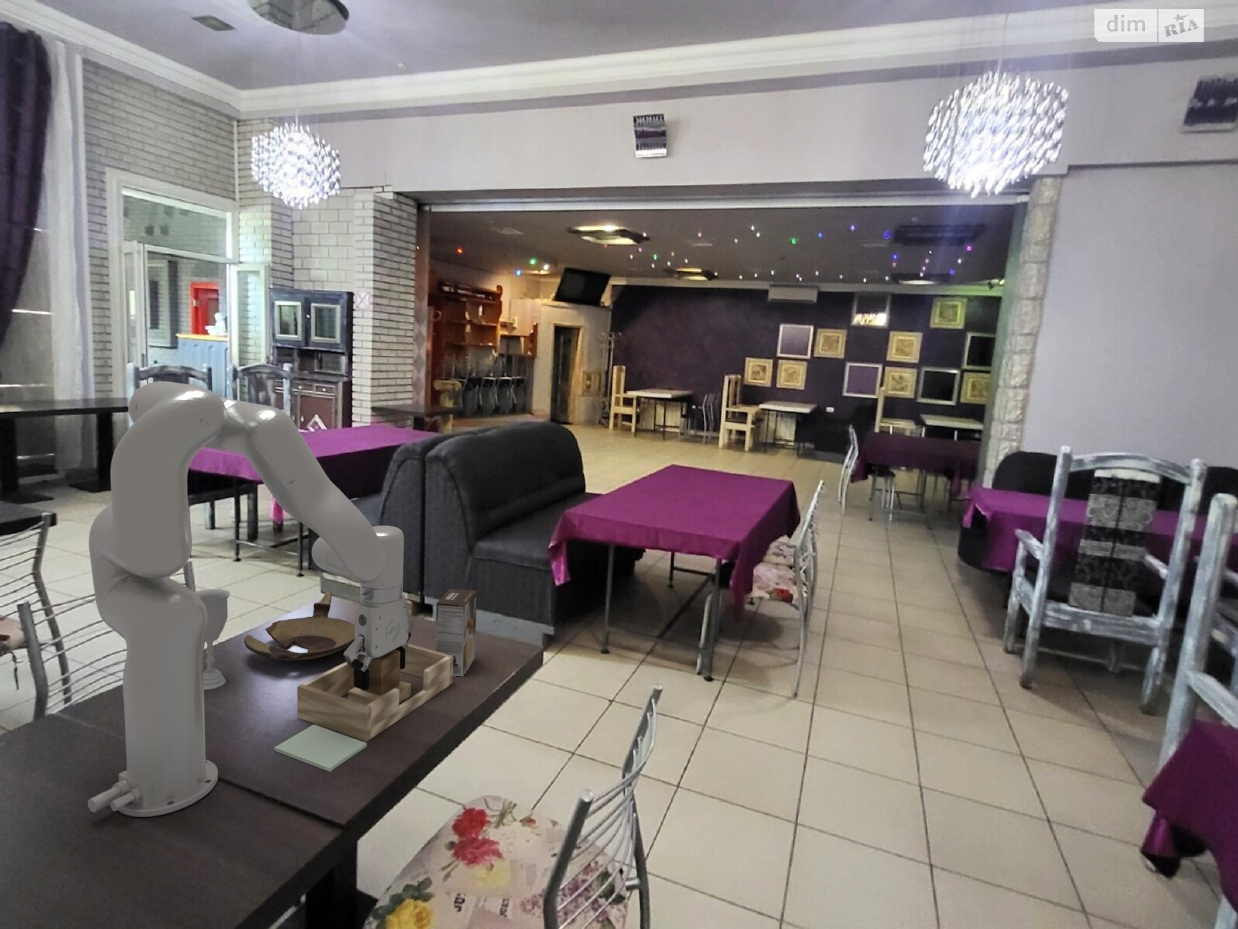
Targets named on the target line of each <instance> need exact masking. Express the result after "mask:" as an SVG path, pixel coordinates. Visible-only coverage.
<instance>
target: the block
mask: <svg viewBox="0 0 1238 929" xmlns="http://www.w3.org/2000/svg"><path fill="white" fill-rule="evenodd" d="M364 659H365V656H362V658H361V662H362V663H363V661H364ZM367 669H369V670H370V679H369V689H368V690H366V692H369V693H372V694H376V695H379V696H382V695H384V694H386V693H387V692H389V691H390V690H392V689H394V688H395V687H397V686H399V682H400V681H401V677H400V673H401V671H400V651H398V650H395V649H394V650H392V651H391V652H389V653H387V654H385V655H383V656H381V657H379V658H375V659H374V658H372V659H371V661H370V663H369V665H368V667H367ZM360 690H362V689H360ZM363 691H365V690H363Z"/></svg>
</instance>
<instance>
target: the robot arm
mask: <svg viewBox="0 0 1238 929" xmlns="http://www.w3.org/2000/svg"><path fill="white" fill-rule="evenodd" d="M128 414H129V416H130V420H131V422H132V425H131V426H130V427H129V428H128V429H127V431H126V432H125V433H124V434H123V435H122V437H121V439H120V441H119V442H118V444H117V445H116V448H115V449H114V452H113V455H112V458H111V464H110V490H111V504H110V505H107V506H106V507H105V508H104V509H103V510H102V511H100V512H99V513H98V514H97V516H96V517H95V519H93V522H92V525H91V527H90V530H89V536H88V548H89V549H88V550H89V557H90V558H89V559H90V567H91V575H92V576H91V577H92V582H93V584H92V585H93V590H94V597H95V604H96V608H97V611H98V614H99V616H100V618H101V620H102V621H103V622H104V623H105V625H106V626H107V627H109V628H110V629H112V630H113V631H114V632H116V633H117V634H118V635H119V637H121V638H123V639H124V640H125V644H126V657H125V660H124V661H125V662H124V667H123V672H122V674H123V675H122V696H123V711H124V713H123V714H124V732H125V737H124V738H125V754H126V770H123V771H122V772H120V773H118V782H116V783H114V784H112V787H111V788H110V789H108V790H106V791H103V792H101V793H99V794H97V795H95V796H93V797H91V798H90V799H88V801H87V806H88V809H89V811H90V812H92V813H96V812H98V811H100V810H102V809H103V808H106V807H108V806H110V808H111V810H112V811H113V812H116V811H118V812H120V813H121V814H123V815H127V816H129V817H135V818H136V817H139V818H140V817H142V818H144V817H145V818H146V817H155V816H162V815H165V814H166V815H167V814H169V813H173V812H176V811H179V810H181V809H185V808H186V807H188V806H191V805H193V804H195V803H196V802H197V801H199V800H201V799H202V798H203V797H205V796H206V795H208V793H210V792H211V791H212V790H213V788H215V785H216V784H217V782H218V779H219V770H218V766H217V765H216V764H215V763H214V762H212V761H211V760H208V759H206V728H205V727H206V724H205V723H206V722H205V720H206V718H205V717H206V716H205V690H204V684H203V672H204V653H205V646H206V642H205V640H206V634H207V628H208V614H207V610H206V607H205V605H204V603H203V601H202V600H201V599H200V598H199V596H198V595H197V594H196V593H194V592H195V591H194V590H191V589H190V588H189V587H187V586H185V585H183V584H182V583H180V582H178V581H176V580H174V579H172V578H171V576H172V575H174V574H176V573H178V572H180V570H182V569H183V568H184V567H185V566H186V565H187V563H188V562H189V559H190V557H191V554H192V551H193V536H192V528H191V527H192V526H191V519H190V508H189V499H188V498H189V497H188V473H189V469H190V465H191V463H192V461H193V460H194V458H195V457H196V455H197V454H198V453H199V452H200V451H201V450H202V449H203V448H207V449H213V450H218V451H224V452H225V451H226V452H230V453H235V454H238V455H243V456H244V457H245V458H246V459H247V461H248V462H249V464H250V466H251V467H253V468H252V469H254V471H255V472H256V474H257V475H258V477H259V478H260V480H261V481H262V483H264V485H265V486H266V489H267V490H268V491H269V492H270V495H272V497H273V498H274V500H275V501H276V502H277V505H279V507H280V508H281V509H282V510H284V511H285V512H286V514H289V515H290V516H291V517H292V518H294V519H295V520H296V521H298V522H300V523H302V524H303V525H304V526H307V528H309V529H310V530H312V531H313V533H315V534H317V535H318V536H319V537H318V538H317V539H316V540H315V542H314V543H313V546H312V547H311V557H312V559H313V562H314V563H315V565H317V566H318V568H320V569H322V570H324V571H325V572H327V573H330V574H333V575H335V576H338V577H340V578H343V579H345V580H348V581H350V582H353V583H355V584H360V585H359V587H360V590H359V591H360V592H359V595H358V600H359V601H360V602H359V603H358V606H357V610H356V615H355V616H356V617H355V624H354V625H355V637H354V642H353V643H352V644H351V645H349V646H348V648H347V647H346V650H345V651H343V652H344V653H343V656H344V659H345V660H346V662H347V664H349V665H350V666H351V668H354V687H356V688H359V689H362V690H365V691H366V690H368V689H369V679H370V670H369V669H367V667H368V665H369V663H370V661H371V659H372V658H374V659H375V658H379V657H381V656H383V655H385V654H387V653H389V652H391V651H392V650H394V649H395V650H398V651H400V669H404V668H405V656H406V650H405V649H406V648H407V647H408V644H409V643H408V642H409V640H410V639H411V636H412V632H413V631H412V630H413V627H414V625H415V623H414V621H410V620H409V611H408V604H407V599H406V595H405V594H404V593H403V587H404V550H405V549H404V546H405V542H404V541H405V536H404V532H403V531H402V529H400V528H399V527H396V526H393V525H374V526H372V524H371V523H370V521H369V520H368V518H366V516H365V515H364V513H362V512H361V510H360V509H359V508H358V507H357V506H356V505H355V504H354V503H353V502H352V501H351V500H350V499H349V498H348V497H347V495H345V494H344V493H343V492H342V491H341V489H340V488H339V487H337V485H335V483H333V482H332V481H331V480H330V478H329V477H328V475H327V474H326V472H325V471H324V469H323V467H322V465H321V464H320V463H319V461H318V459H317V458H316V456H315V455H314V453H313V451H312V449H311V448H310V446H309V445H308V443H307V442H306V440H305V438H304V436H303V435H302V433H301V431H300V430H299V428H298V427H297V425H296V424H295V422H294V420H292V418H291V417H290V416H289V415H288V414H287V413H286V412H285V411H283V410H282V409H280V408H277V407H275V406H271V405H266V404H260V403H255V402H254V403H253V402H248V401H242V400H237V399H233V398H228V397H225V396H220V395H218V394H217V393H215V392H214V391H212V390H210V389H208V388H205V387H202V386H199V385H195V384H189V383H182V382H181V383H180V382H173V381H168V380H167V381H165V380H164V381H163V380H162V381H161V380H159V381H152V382H149V383H147V384H144V385H142V386H140V387H139V388H138V389H137V390H136V391H134V393H133V394H132V396H131V397H130V400H129V404H128ZM362 656H365V659H364V661H363V663H362V662H361V661H360V660H361V658H362Z"/></svg>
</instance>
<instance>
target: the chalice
mask: <svg viewBox="0 0 1238 929" xmlns="http://www.w3.org/2000/svg"><path fill="white" fill-rule="evenodd" d="M193 592H194V593H196V594H197V595H198V596H199V598H200V599H201V600H202V601H203V603H204V605H205V607H206V610H207V614H208V628H207V634H206V640H205V644H206V649H205V650H204V653H206V655H207V656H206V659H205V660H204V662H206V664H207V666H206V669H205V670H203V684H204V691H206V690H213V689H216V688H220V687H221V686H223V685H225V684H226V682H227V680H226V679H225V677H224V675H223V674H222V671H220V670H219V669H217V668H215V667H214V662H215V661H216V658H215V657H214V652H215V648H214V642H215V641H217V640H218V639H219V638H220V636H221V635H222V632H223V630H224V628H225V626H226V623H227V620H228V617H229V615H228V614H229V611H228V599H229V597H230V594H231V592H230V591H229V590H226V589H220V588H219V589H218V588H210V589H209V588H208V589H201V590H196V591H193Z"/></svg>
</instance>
